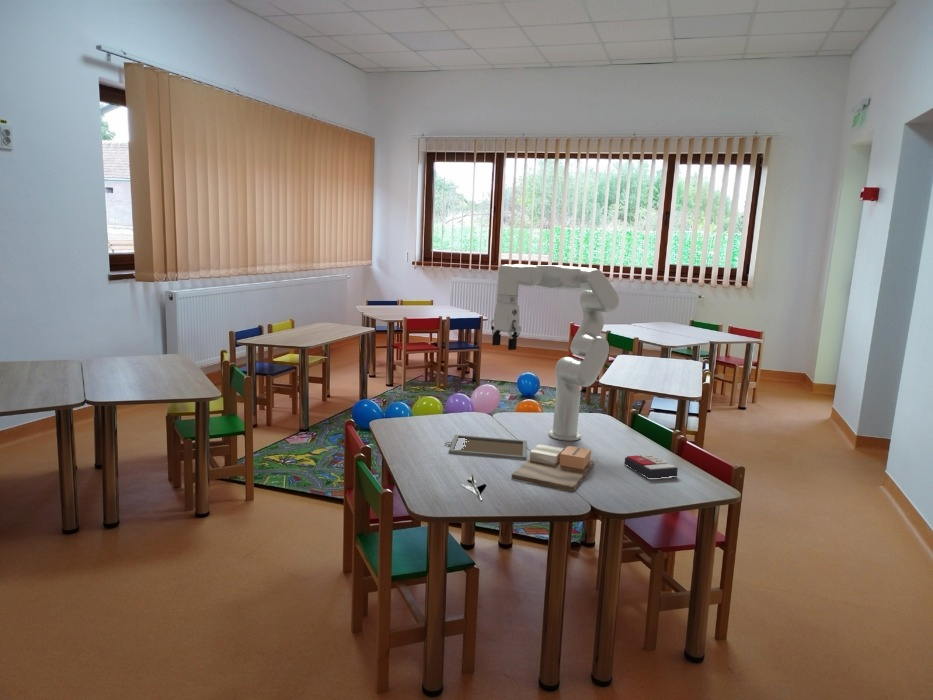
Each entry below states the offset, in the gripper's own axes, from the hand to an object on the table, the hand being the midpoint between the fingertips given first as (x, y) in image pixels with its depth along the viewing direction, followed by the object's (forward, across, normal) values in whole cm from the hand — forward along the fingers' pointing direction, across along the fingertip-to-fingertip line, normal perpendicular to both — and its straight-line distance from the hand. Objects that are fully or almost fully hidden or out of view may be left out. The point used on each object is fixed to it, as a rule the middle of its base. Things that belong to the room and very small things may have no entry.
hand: (503, 347), depth 225 cm
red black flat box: (+38, -42, -34) cm, 66 cm away
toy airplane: (+38, -30, +29) cm, 56 cm away
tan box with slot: (+35, -30, -11) cm, 47 cm away
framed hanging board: (+38, 0, +5) cm, 38 cm away
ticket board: (+37, -29, -3) cm, 47 cm away
